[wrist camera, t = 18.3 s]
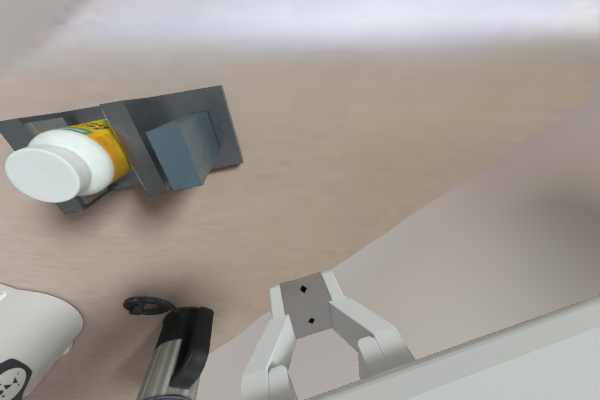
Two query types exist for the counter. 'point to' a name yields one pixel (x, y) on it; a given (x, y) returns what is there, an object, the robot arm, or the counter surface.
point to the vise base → (164, 112)
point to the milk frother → (175, 350)
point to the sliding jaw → (163, 145)
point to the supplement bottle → (68, 162)
